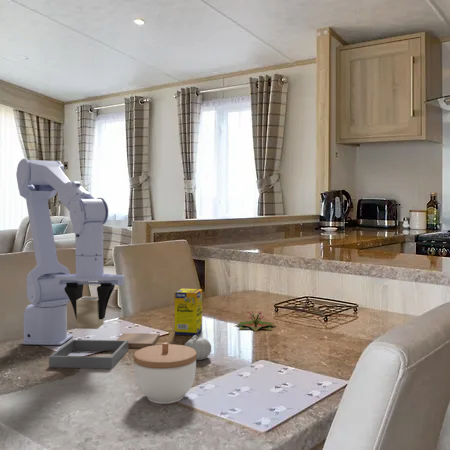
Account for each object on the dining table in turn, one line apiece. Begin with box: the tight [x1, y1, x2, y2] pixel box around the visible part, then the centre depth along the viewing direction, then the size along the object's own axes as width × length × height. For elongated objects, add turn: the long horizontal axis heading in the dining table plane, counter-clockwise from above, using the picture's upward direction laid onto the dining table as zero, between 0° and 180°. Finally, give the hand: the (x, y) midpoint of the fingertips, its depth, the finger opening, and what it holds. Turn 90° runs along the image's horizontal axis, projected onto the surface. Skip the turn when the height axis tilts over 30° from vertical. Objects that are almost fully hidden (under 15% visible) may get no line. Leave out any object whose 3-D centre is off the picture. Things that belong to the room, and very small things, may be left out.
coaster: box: [116, 332, 160, 349], centre depth 123 cm, size 9×9×1 cm
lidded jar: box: [133, 342, 197, 405], centre depth 88 cm, size 11×11×9 cm
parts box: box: [76, 295, 105, 330], centre depth 110 cm, size 4×4×6 cm
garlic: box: [183, 334, 212, 361], centre depth 110 cm, size 6×5×5 cm
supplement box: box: [173, 288, 203, 337], centre depth 132 cm, size 6×6×11 cm
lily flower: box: [234, 310, 276, 332], centre depth 139 cm, size 12×12×5 cm
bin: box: [48, 339, 129, 369], centre depth 111 cm, size 13×13×2 cm
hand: (90, 318), depth 111 cm, fingers closed on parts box, 4 cm apart
